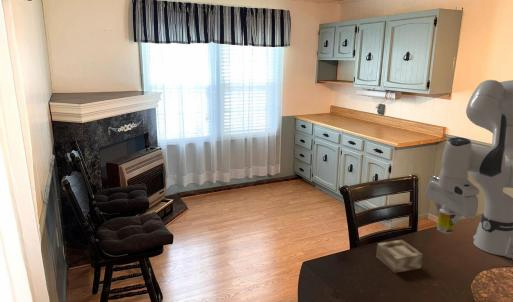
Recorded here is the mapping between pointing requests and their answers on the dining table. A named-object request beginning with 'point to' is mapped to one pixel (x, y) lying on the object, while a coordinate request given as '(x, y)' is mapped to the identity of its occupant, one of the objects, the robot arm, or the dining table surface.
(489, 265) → the dining table surface
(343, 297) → the dining table surface
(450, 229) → the supplement bottle
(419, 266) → the grey beige stone block
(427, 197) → the robot arm
